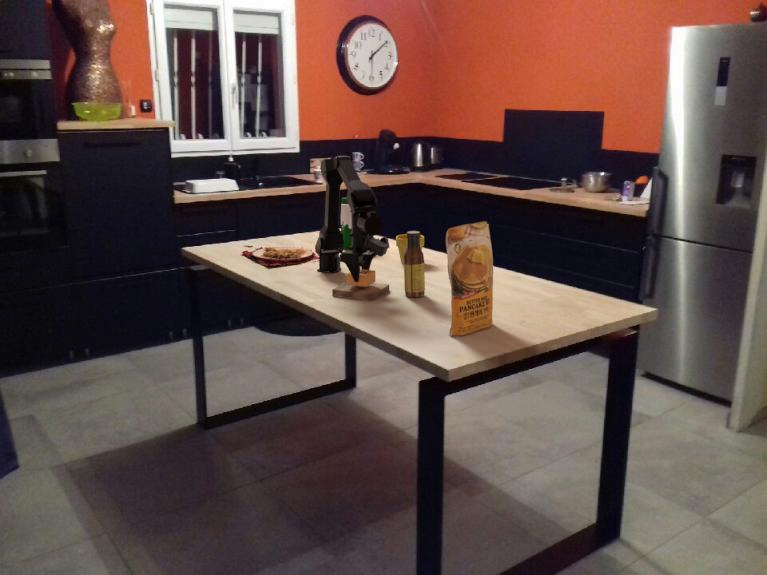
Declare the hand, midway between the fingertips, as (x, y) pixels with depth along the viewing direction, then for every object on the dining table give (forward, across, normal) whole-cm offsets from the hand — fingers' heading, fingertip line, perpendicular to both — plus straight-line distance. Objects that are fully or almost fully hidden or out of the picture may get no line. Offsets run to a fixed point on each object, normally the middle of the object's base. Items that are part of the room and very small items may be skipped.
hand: (361, 279), depth 216 cm
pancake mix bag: (+5, -20, -40) cm, 45 cm away
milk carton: (+5, +59, +30) cm, 66 cm away
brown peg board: (+4, 0, 0) cm, 5 cm away
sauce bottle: (+5, +4, -16) cm, 17 cm away
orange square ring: (+1, 0, 0) cm, 1 cm away
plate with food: (+5, +34, +47) cm, 58 cm away
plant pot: (+5, +44, 0) cm, 44 cm away
